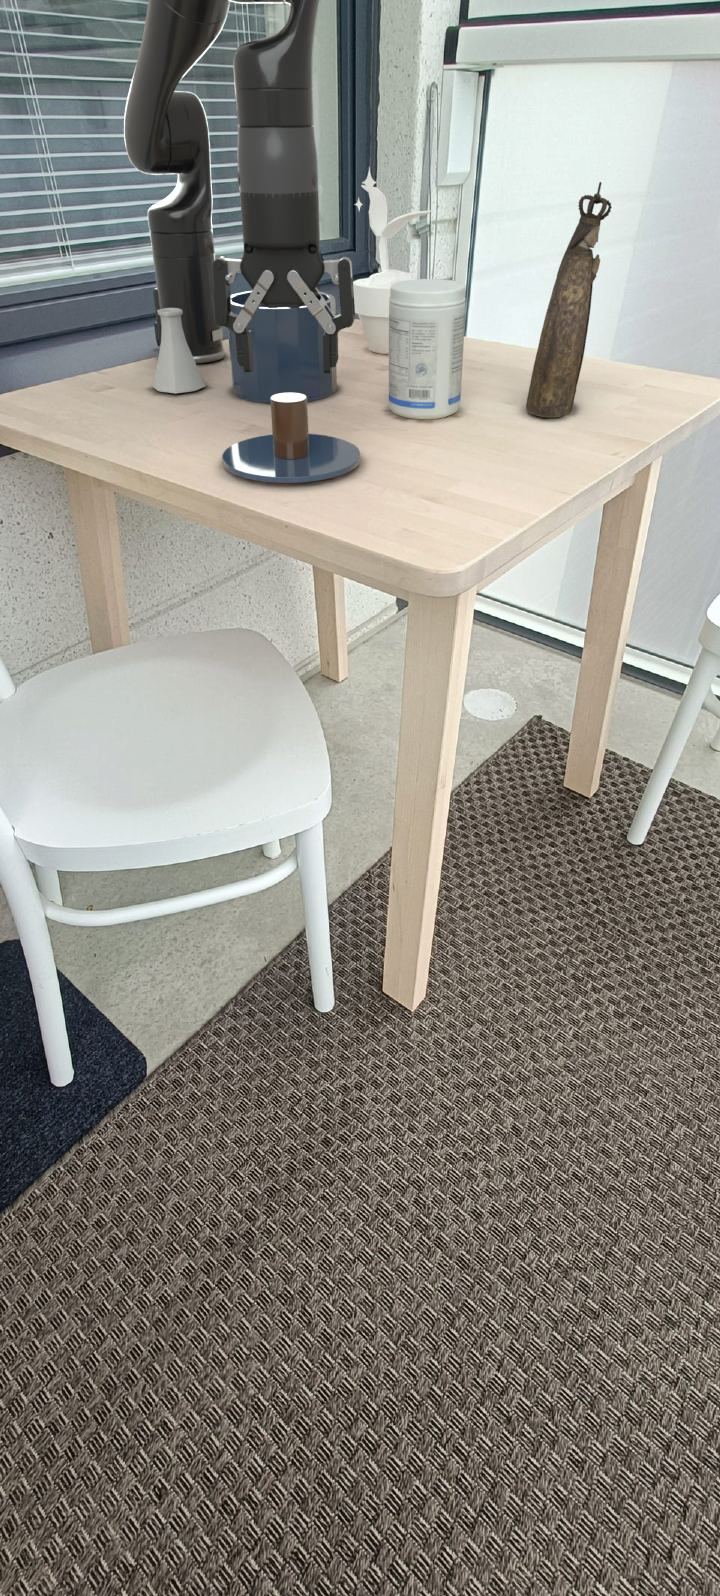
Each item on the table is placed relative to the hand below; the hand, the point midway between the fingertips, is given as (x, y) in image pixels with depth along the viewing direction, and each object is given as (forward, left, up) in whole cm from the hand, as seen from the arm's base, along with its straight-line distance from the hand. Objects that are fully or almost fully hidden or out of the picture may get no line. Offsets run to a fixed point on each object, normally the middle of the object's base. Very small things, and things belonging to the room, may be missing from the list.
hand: (288, 371), depth 93 cm
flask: (-34, +17, -10) cm, 39 cm away
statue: (+15, +37, -10) cm, 41 cm away
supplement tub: (+1, +27, -10) cm, 29 cm away
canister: (-21, +25, -10) cm, 34 cm away
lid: (0, 0, -9) cm, 9 cm away
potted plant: (-22, +54, -10) cm, 59 cm away
